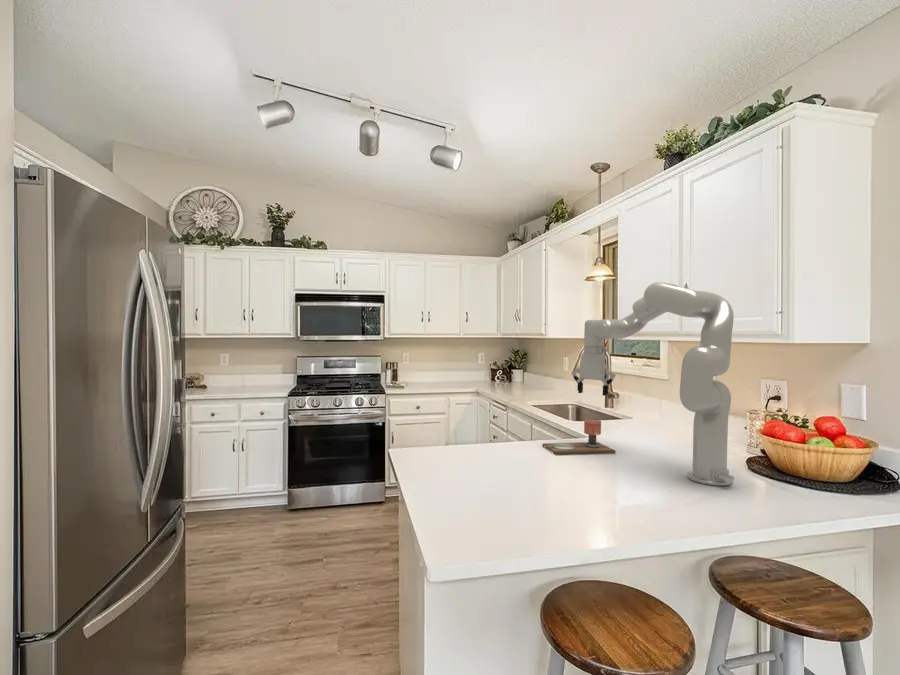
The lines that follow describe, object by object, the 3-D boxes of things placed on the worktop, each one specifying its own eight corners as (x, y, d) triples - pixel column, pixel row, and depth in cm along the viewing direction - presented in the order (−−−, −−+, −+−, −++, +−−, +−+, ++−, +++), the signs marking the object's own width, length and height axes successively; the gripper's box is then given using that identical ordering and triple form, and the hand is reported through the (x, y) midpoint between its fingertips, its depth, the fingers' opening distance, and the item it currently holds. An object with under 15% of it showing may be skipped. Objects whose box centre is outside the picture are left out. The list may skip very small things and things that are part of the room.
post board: (615, 453, 179) (615, 427, 179) (556, 455, 174) (556, 428, 174) (597, 445, 192) (598, 420, 192) (542, 446, 188) (543, 421, 188)
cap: (604, 435, 181) (605, 422, 181) (589, 435, 180) (589, 422, 180) (595, 431, 189) (595, 418, 189) (580, 431, 188) (580, 419, 188)
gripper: (618, 351, 183) (617, 395, 183) (575, 349, 192) (574, 391, 193) (613, 352, 176) (611, 397, 177) (569, 350, 186) (568, 392, 187)
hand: (592, 394), depth 185 cm, fingers open, 9 cm apart
